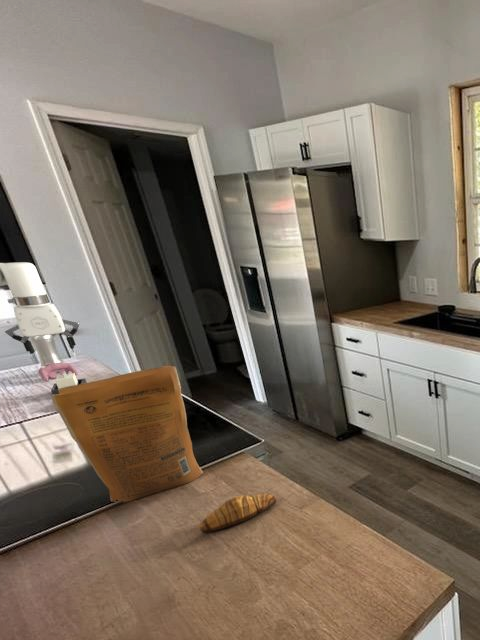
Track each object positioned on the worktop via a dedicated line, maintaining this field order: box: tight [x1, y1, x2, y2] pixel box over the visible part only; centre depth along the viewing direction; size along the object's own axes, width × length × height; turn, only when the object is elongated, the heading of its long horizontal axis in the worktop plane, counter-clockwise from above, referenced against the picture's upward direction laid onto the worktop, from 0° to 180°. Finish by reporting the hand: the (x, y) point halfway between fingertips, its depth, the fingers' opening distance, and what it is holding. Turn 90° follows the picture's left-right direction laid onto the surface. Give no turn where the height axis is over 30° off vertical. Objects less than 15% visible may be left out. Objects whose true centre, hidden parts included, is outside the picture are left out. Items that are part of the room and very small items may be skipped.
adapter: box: [50, 378, 88, 395], centre depth 148 cm, size 8×10×3 cm
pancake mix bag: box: [50, 365, 204, 503], centre depth 88 cm, size 7×19×28 cm, turn 131°
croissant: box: [199, 493, 277, 534], centre depth 83 cm, size 14×7×5 cm, turn 135°
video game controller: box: [38, 361, 79, 382], centre depth 162 cm, size 10×5×7 cm, turn 149°
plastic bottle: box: [28, 334, 64, 374], centre depth 165 cm, size 6×7×20 cm
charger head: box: [54, 372, 79, 389], centre depth 147 cm, size 4×6×6 cm
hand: (53, 350), depth 143 cm, fingers open, 9 cm apart
